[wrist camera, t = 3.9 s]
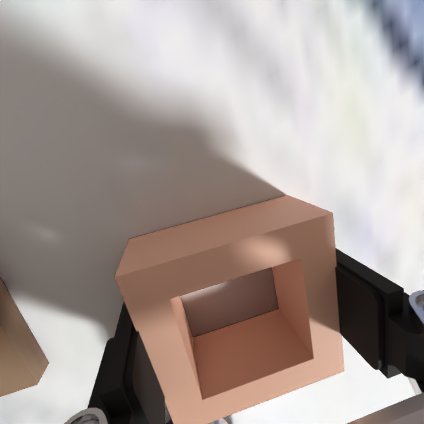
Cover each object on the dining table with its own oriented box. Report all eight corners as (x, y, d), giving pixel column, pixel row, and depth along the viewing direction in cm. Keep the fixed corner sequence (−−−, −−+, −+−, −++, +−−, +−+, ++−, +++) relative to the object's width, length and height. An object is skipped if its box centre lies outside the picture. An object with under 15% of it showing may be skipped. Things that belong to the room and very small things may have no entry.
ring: (303, 320, 13) (344, 371, 10) (174, 365, 12) (178, 435, 9) (287, 195, 11) (333, 212, 8) (129, 238, 10) (114, 277, 7)
